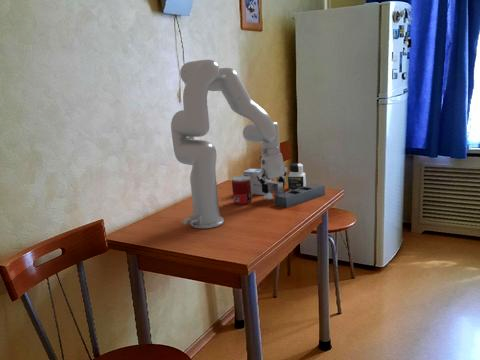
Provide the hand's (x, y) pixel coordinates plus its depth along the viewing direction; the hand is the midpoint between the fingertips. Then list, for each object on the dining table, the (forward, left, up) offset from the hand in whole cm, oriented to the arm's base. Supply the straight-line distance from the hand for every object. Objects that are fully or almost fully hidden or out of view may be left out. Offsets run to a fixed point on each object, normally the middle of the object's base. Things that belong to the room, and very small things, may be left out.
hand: (273, 190), depth 189 cm
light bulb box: (+4, +15, -5) cm, 16 cm away
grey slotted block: (+7, -9, -4) cm, 12 cm away
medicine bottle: (+19, +4, -5) cm, 20 cm away
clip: (0, 0, -4) cm, 4 cm away
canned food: (-11, +8, -5) cm, 14 cm away
